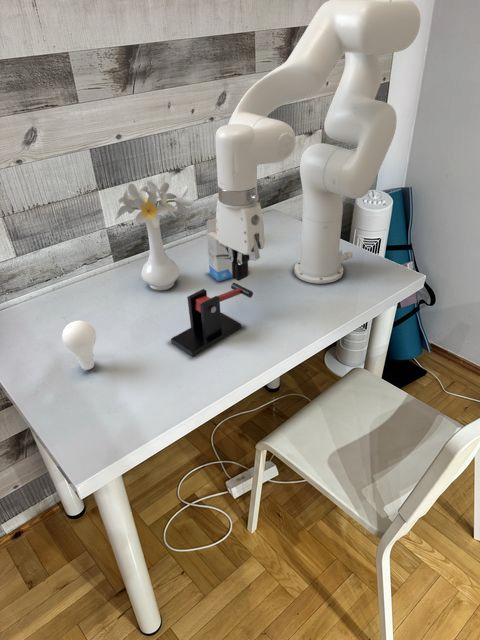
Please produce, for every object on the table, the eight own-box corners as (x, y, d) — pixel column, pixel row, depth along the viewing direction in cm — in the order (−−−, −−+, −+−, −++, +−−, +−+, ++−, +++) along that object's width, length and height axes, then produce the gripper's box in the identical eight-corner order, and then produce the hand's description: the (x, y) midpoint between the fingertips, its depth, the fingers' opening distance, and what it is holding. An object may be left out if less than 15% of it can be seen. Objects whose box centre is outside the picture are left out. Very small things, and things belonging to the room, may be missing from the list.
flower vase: (207, 277, 129) (199, 180, 114) (150, 307, 118) (132, 204, 103) (174, 261, 136) (161, 167, 121) (117, 288, 125) (95, 189, 110)
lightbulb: (75, 381, 98) (60, 336, 91) (71, 363, 102) (56, 318, 96) (106, 373, 100) (94, 328, 93) (101, 355, 104) (89, 311, 97)
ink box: (218, 282, 127) (214, 227, 118) (209, 274, 130) (204, 220, 121) (247, 273, 131) (245, 219, 122) (237, 265, 134) (235, 212, 125)
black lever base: (220, 316, 115) (217, 278, 109) (241, 328, 111) (239, 290, 105) (171, 343, 107) (165, 304, 101) (192, 357, 104) (187, 317, 98)
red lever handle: (235, 289, 114) (235, 280, 113) (252, 298, 111) (253, 288, 110) (190, 306, 106) (190, 296, 104) (207, 316, 103) (207, 306, 101)
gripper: (279, 198, 96) (277, 283, 107) (225, 180, 104) (229, 260, 116) (251, 210, 92) (252, 296, 103) (197, 189, 100) (204, 271, 111)
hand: (240, 277), depth 109 cm, fingers closed
